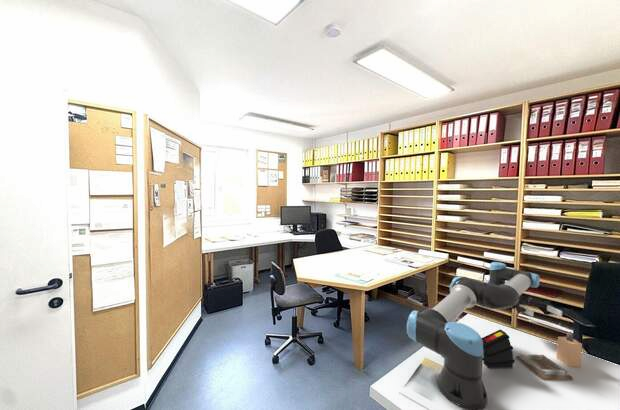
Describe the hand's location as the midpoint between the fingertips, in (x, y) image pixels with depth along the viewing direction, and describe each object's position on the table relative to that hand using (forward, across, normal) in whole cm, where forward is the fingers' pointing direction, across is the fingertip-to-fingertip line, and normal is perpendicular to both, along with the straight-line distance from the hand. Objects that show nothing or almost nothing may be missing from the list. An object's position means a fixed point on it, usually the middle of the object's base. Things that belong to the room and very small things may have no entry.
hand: (547, 314), depth 114 cm
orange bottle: (+11, +1, -16) cm, 19 cm away
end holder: (+15, +16, -16) cm, 27 cm away
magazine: (+14, +35, -16) cm, 41 cm away
